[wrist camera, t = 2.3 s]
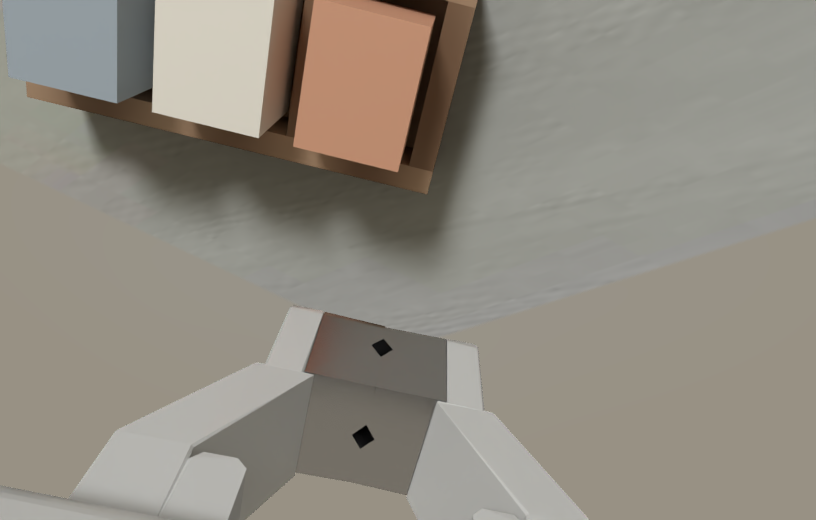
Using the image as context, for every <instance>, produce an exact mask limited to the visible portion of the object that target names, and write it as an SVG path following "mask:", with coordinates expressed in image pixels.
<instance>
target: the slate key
mask: <svg viewBox="0 0 816 520" xmlns="http://www.w3.org/2000/svg"><path fill="white" fill-rule="evenodd" d="M2 1H3V14H4V26H5V38H6V50H7V63H8V75H9V77H11V78H15V79H19V80H23V81H27V82H31V83H35V84H39V85H43V86H47V87H52V88H56V89H60V90H64V91H68V92H72V93H76V94H80V95H84V96H88V97H92V98H96V99H101V100H105V101H109V102H113V103H119V102H122V101H124V100H126V99H128V98H131V97H133V96H135V95H137V94H140V93H142V92H144V91H146V90H149V89H151V88H153V60H154V25H155V0H2Z"/></svg>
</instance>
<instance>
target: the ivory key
mask: <svg viewBox="0 0 816 520" xmlns="http://www.w3.org/2000/svg"><path fill="white" fill-rule="evenodd" d="M302 6H303V0H155V25H154V60H153V96H152V112H154V113H158V114H162V115H166V116H170V117H174V118H178V119H182V120H186V121H190V122H194V123H199V124H203V125H207V126H211V127H215V128H219V129H223V130H227V131H231V132H235V133H239V134H243V135H248V136H252V137H256V138H259V137H260V136H262V135H263V134H264V133H265V132H266V131H267V130H268V129H269V128H270V127H271V126H272V125H273V124H274V123H276V122H277V121H278V120H279V119H280V118H281V117H282V116H283V115H284V114H285V113H286V112H287V111H288V109H289V102H290V95H291V87H292V80H293V72H294V65H295V58H296V50H297V43H298V35H299V28H300V21H301V13H302Z"/></svg>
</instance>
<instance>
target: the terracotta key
mask: <svg viewBox="0 0 816 520" xmlns="http://www.w3.org/2000/svg"><path fill="white" fill-rule="evenodd" d="M435 18H436V15H434V14H430V13H426V12H422V11H418V10H414V9H410V8H406V7H402V6H399V5H395V4H391V3H387V2H383V1H379V0H314V3H313V10H312V17H311V24H310V31H309V38H308V45H307V52H306V59H305V66H304V73H303V80H302V87H301V94H300V101H299V108H298V115H297V122H296V130H295V137H294V144H293V147H297V148H301V149H305V150H309V151H313V152H317V153H321V154H325V155H329V156H333V157H337V158H341V159H346V160H350V161H354V162H358V163H362V164H366V165H370V166H374V167H378V168H382V169H386V170H390V171H395V172H398V170H399V167H400V163H401V160H402V156H403V153H404V149H405V145H406V142H407V138H408V134H409V130H410V125H411V121H412V117H413V112H414V108H415V104H416V100H417V95H418V91H419V87H420V82H421V78H422V74H423V70H424V65H425V61H426V57H427V52H428V48H429V44H430V39H431V35H432V31H433V27H434V22H435Z"/></svg>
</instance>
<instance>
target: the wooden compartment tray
mask: <svg viewBox="0 0 816 520" xmlns="http://www.w3.org/2000/svg"><path fill="white" fill-rule="evenodd" d="M379 1H383V2H387V3H391V4H395V5H399V6H402V7H406V8H410V9H414V10H418V11H422V12H426V13H430V14H434V15H436V18H435V22H434V27H433V31H432V35H431V39H430V44H429V48H428V52H427V57H426V61H425V65H424V70H423V74H422V78H421V82H420V87H419V91H418V95H417V100H416V104H415V108H414V112H413V117H412V121H411V125H410V130H409V134H408V138H407V142H406V145H405V149H404V153H403V156H402V160H401V163H400V167H399V170H398V172H395V171H390V170H386V169H382V168H378V167H374V166H370V165H366V164H362V163H358V162H354V161H350V160H346V159H341V158H337V157H333V156H329V155H325V154H321V153H317V152H313V151H309V150H305V149H301V148H297V147H293V144H294V137H295V130H296V122H297V115H298V108H299V101H300V94H301V87H302V80H303V73H304V66H305V59H306V52H307V45H308V38H309V31H310V24H311V17H312V10H313V3H314V0H303V6H302V13H301V21H300V28H299V35H298V43H297V50H296V58H295V65H294V72H293V80H292V87H291V95H290V102H289V109H288V111H287V112H286V113H285V114H284V115H283V116H282V117H281V118H280V119H279V120H278V121H277V122H276V123H274V124H273V125H272V126H271V127H270V128H269V129H268V130H267V131H266V132H265V133H264V134H263V135H262V136H260V137H259V138H256V137H252V136H248V135H243V134H239V133H235V132H231V131H227V130H223V129H219V128H215V127H211V126H207V125H203V124H199V123H194V122H190V121H186V120H182V119H178V118H174V117H170V116H166V115H162V114H158V113H154V112H152V96H153V88H151V89H149V90H146V91H144V92H142V93H140V94H137V95H135V96H133V97H131V98H128V99H126V100H124V101H122V102H119V103H113V102H109V101H105V100H101V99H96V98H92V97H88V96H84V95H80V94H76V93H72V92H68V91H64V90H60V89H56V88H52V87H47V86H43V85H39V84H35V83H31V82H27V81H26V87H27V97H30V98H34V99H38V100H43V101H47V102H51V103H55V104H59V105H63V106H67V107H71V108H75V109H79V110H84V111H88V112H92V113H96V114H100V115H104V116H108V117H112V118H116V119H120V120H124V121H129V122H133V123H137V124H141V125H145V126H149V127H153V128H157V129H161V130H165V131H170V132H174V133H178V134H182V135H186V136H190V137H194V138H198V139H202V140H206V141H211V142H215V143H219V144H223V145H227V146H231V147H235V148H239V149H243V150H247V151H252V152H256V153H260V154H264V155H268V156H272V157H276V158H280V159H284V160H288V161H293V162H297V163H301V164H305V165H309V166H313V167H317V168H321V169H325V170H329V171H333V172H338V173H342V174H346V175H350V176H354V177H358V178H362V179H366V180H370V181H374V182H379V183H383V184H387V185H391V186H395V187H399V188H403V189H407V190H411V191H415V192H420V193H424V194H427V193H428V189H429V185H430V181H431V177H432V173H433V170H434V166H435V162H436V158H437V154H438V150H439V147H440V143H441V139H442V135H443V131H444V127H445V124H446V120H447V116H448V112H449V108H450V104H451V101H452V97H453V93H454V89H455V85H456V81H457V78H458V74H459V70H460V66H461V62H462V58H463V54H464V51H465V47H466V43H467V39H468V35H469V31H470V28H471V24H472V20H473V16H474V12H475V8H476V5H477V1H478V0H379Z"/></svg>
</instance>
